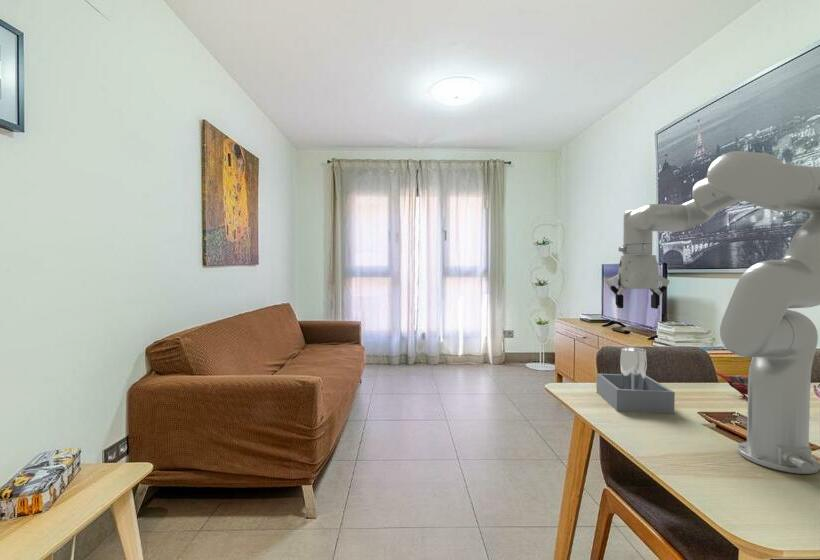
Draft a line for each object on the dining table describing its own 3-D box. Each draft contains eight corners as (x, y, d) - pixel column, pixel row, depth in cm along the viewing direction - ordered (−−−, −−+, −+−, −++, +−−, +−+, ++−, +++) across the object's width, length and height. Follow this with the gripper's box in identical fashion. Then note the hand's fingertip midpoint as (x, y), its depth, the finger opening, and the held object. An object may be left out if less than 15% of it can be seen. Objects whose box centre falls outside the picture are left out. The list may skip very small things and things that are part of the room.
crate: (674, 413, 110) (674, 392, 110) (616, 410, 113) (616, 389, 112) (645, 393, 128) (646, 375, 128) (596, 391, 130) (596, 373, 130)
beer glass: (639, 395, 123) (640, 347, 123) (650, 402, 117) (651, 351, 116) (615, 394, 124) (616, 346, 124) (625, 401, 117) (626, 351, 117)
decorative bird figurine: (768, 407, 115) (769, 373, 115) (709, 389, 133) (709, 360, 132) (775, 406, 116) (776, 372, 116) (716, 389, 133) (716, 359, 133)
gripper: (611, 250, 116) (611, 308, 117) (675, 249, 114) (675, 309, 114) (602, 251, 124) (602, 306, 124) (662, 251, 121) (662, 307, 122)
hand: (637, 308), depth 119 cm, fingers open, 9 cm apart
